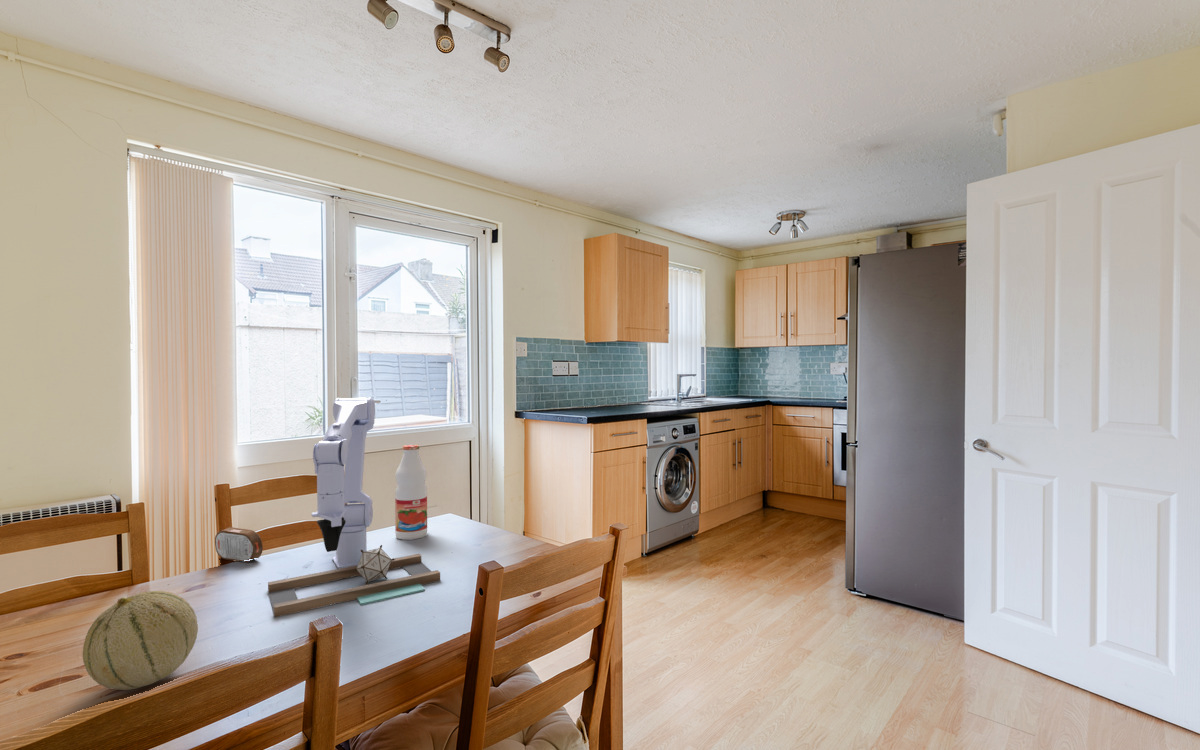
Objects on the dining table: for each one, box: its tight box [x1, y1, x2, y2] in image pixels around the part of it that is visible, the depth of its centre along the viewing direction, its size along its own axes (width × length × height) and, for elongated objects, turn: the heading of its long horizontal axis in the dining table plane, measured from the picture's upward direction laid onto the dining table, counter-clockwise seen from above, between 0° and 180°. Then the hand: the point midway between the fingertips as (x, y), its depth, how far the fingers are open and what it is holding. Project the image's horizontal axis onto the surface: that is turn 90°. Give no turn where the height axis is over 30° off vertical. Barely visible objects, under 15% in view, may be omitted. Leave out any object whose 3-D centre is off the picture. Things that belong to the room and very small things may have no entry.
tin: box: [214, 526, 264, 563], centre depth 152 cm, size 15×3×8 cm, turn 71°
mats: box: [268, 561, 432, 613], centre depth 133 cm, size 13×35×1 cm, turn 125°
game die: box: [353, 544, 395, 585], centre depth 137 cm, size 9×8×10 cm
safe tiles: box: [356, 584, 426, 606], centre depth 137 cm, size 25×14×1 cm, turn 35°
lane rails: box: [267, 553, 441, 618], centre depth 133 cm, size 17×35×2 cm, turn 125°
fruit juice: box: [394, 444, 428, 541], centre depth 173 cm, size 9×9×28 cm
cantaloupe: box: [82, 590, 199, 691], centre depth 92 cm, size 15×15×15 cm
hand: (331, 550), depth 130 cm, fingers closed
